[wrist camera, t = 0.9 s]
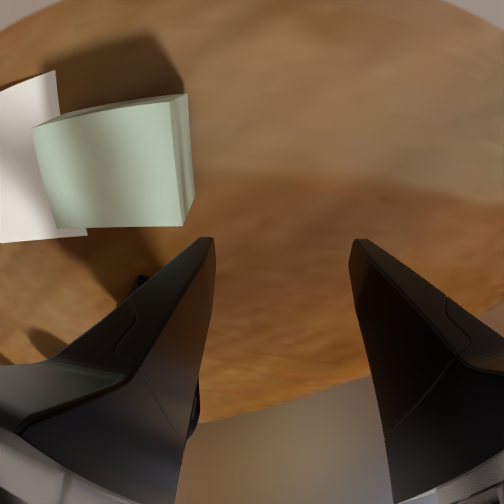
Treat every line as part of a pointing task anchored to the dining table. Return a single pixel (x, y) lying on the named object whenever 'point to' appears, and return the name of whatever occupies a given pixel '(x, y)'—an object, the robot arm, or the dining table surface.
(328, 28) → the dining table surface
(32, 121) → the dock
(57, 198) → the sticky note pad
